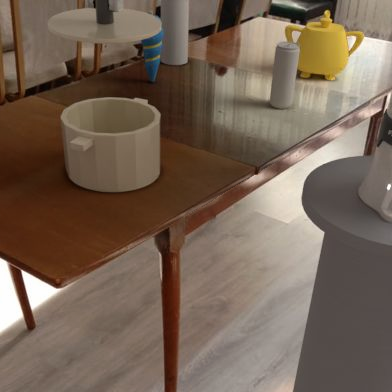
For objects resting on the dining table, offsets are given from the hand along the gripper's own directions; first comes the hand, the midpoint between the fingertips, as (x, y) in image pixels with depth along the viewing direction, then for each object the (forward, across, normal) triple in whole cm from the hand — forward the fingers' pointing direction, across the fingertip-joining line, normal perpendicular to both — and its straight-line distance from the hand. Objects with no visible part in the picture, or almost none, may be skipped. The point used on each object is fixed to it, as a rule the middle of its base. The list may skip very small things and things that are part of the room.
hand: (104, 9), depth 92 cm
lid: (+2, 0, 0) cm, 2 cm away
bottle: (+25, +15, -57) cm, 64 cm away
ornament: (+25, +13, -41) cm, 49 cm away
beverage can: (+25, -17, -42) cm, 51 cm away
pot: (+24, -1, +1) cm, 25 cm away
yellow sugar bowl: (+25, -18, -68) cm, 74 cm away
